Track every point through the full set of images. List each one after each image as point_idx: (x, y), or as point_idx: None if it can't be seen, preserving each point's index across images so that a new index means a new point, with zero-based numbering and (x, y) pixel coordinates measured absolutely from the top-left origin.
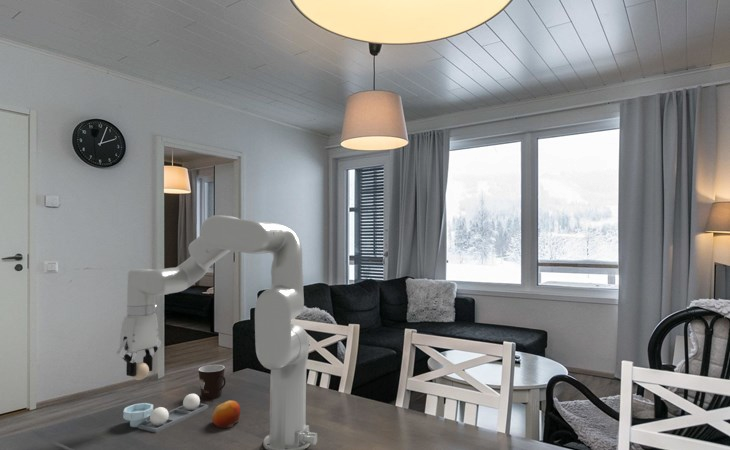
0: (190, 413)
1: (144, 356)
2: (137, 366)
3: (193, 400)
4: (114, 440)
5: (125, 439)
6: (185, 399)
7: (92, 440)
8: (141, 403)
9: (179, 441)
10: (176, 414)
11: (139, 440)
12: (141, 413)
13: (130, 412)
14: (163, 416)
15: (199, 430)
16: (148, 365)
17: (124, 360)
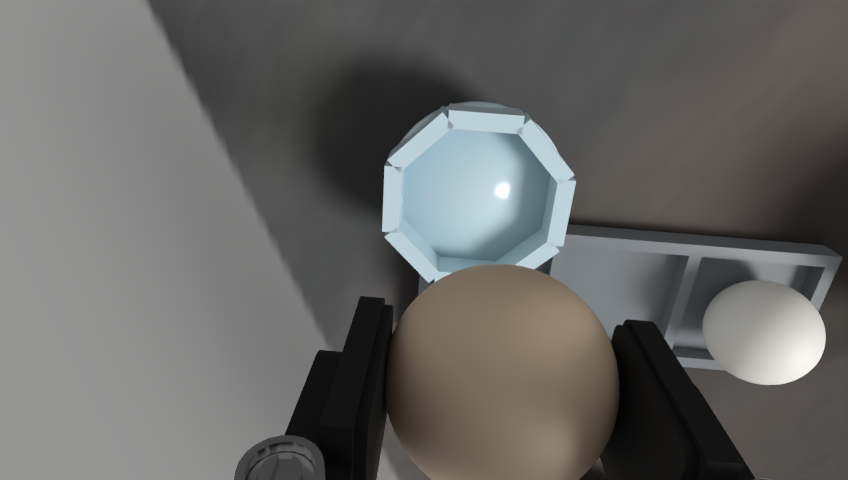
0: None
1: (726, 466)
2: (422, 467)
3: (736, 374)
4: (285, 198)
5: (317, 238)
6: (735, 335)
7: (230, 88)
8: (558, 157)
9: (399, 445)
10: (652, 273)
11: (338, 303)
12: (422, 273)
13: (393, 216)
14: None
15: None
16: (615, 454)
17: (239, 462)
